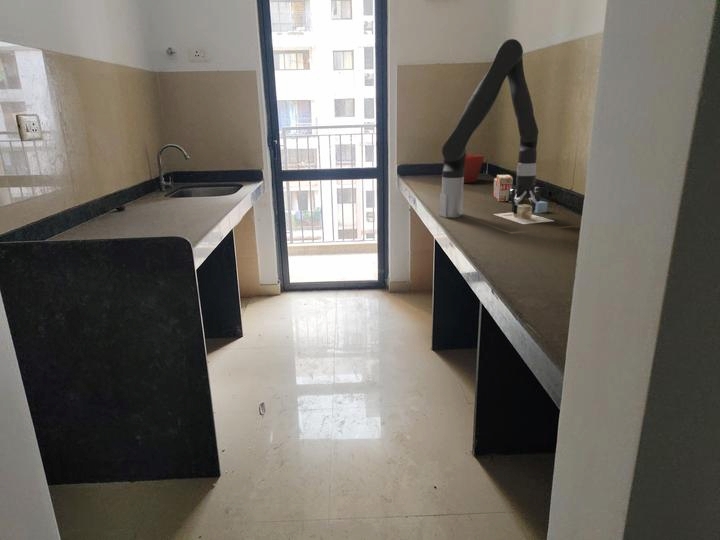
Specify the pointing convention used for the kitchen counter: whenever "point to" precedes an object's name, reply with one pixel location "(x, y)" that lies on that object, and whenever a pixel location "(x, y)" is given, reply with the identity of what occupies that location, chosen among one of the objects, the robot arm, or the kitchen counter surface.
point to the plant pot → (472, 167)
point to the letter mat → (523, 221)
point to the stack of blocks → (502, 187)
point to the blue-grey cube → (541, 207)
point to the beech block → (523, 211)
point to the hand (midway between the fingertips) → (523, 212)
